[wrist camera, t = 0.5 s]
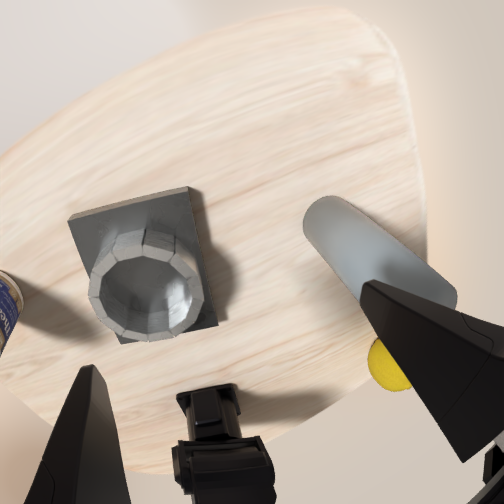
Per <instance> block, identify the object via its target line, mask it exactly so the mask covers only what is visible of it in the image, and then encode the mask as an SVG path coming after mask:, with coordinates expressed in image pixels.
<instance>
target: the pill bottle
mask: <svg viewBox="0 0 504 504" xmlns="http://www.w3.org/2000/svg"><path fill="white" fill-rule="evenodd" d="M23 306H24V302H23V297H22V294H21V291H20V289H19V287H18V286H17V284H16V283H15V282H14V281H13V280H12V279H11V278H10V277H9V276H8V275H6V274H5V273H3V272H1V271H0V357H1V354H2V352H3V350H4V347H5V345H6V343H7V341H8V339H9V337H10V335H11V333H12V331H13V329H14V327H15V325H16V323H17V321H18V319H19V317H20V315H21V313H22V310H23Z"/></svg>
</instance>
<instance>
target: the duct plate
mask: <svg viewBox="0 0 504 504" xmlns="http://www.w3.org/2000/svg"><path fill="white" fill-rule="evenodd" d="M67 222H68V224H69V227H70V230H71V233H72V236H73V238H74V241H75V244H76V246H77V249H78V252H79V254H80V257H81V259H82V262H83V264H84V267H85V269H86V272H87V274H88V276H89V279H90V283H89V291H88V296H89V297H88V298H89V301H90V303H91V305H92V307H93V309H94V311H95V313H96V315H97V317H98V319H100V321H101V322H102V323H103V324H105V325H106V326H107V327H109V328H110V329H112V330H113V331H114V332H115V334H116V336H117V338H118V340H119V342H120V344H126V343H132V342H138V341H144V342H147V341H149V342H153V341H159V340H164V339H169V338H174V336H175V337H176V336H177V335H179V334H181V333H186V332H191V331H196V330H200V329H205V328H210V327H215V326H219V325H218V320H217V316H216V312H215V308H214V304H213V299H212V295H211V291H210V287H209V283H208V279H207V274H206V270H205V266H204V262H203V257H202V253H201V248H200V244H199V239H198V235H197V230H196V225H195V221H194V216H193V211H192V207H191V202H190V197H189V192H188V187H187V186H186V187H181V188H177V189H172V190H167V191H163V192H159V193H154V194H150V195H146V196H142V197H137V198H133V199H129V200H125V201H121V202H118V203H114V204H110V205H106V206H102V207H99V208H95V209H91V210H88V211H84V212H81V213H77V214H74V215H72V216H71V217H70V218H69V220H68V221H67Z"/></svg>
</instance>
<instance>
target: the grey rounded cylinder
mask: <svg viewBox="0 0 504 504" xmlns="http://www.w3.org/2000/svg"><path fill="white" fill-rule="evenodd" d="M303 231H304V234H305V236H306V238H307V239H308V240H309V242H310V243H311V244H312V245H313V246H314V248H315V249H316V250H317V251H318V252H319V254H320V255H321V256H322V257H323V258H324V260H325V261H326V262H327V263H328V264H329V266H330V267H331V268H332V269H333V271H334V272H335V273H336V274H337V276H338V277H339V278H340V279H341V280H342V282H343V283H344V284H345V285H346V287H347V288H348V289H349V290H350V292H351V293H352V294H353V295H354V297H355V298H356V299H357V301H358V302H359V299H360V294H361V289H362V285H363V283H364V282H366V281H369V280H371V279H375V280H378V281H381V282H383V283H386V284H389V285H391V286H394V287H397V288H399V289H402V290H404V291H407V292H410V293H412V294H415V295H418V296H420V297H423V298H425V299H428V300H431V301H433V302H436V303H438V304H441V305H444V306H446V307H449V308H451V309H454V310H455V307H456V304H457V292H456V289H455V288H454V287H453V286H452V285H451V284H450V283H449V282H448V281H447V280H445V279H444V278H443V277H442V276H441V275H439V274H438V273H437V272H436V271H435V270H434V269H433V268H431V267H430V266H429V265H428V264H427V263H425V262H424V261H423V260H422V259H421V258H419V257H418V256H417V255H416V254H415V253H413V252H412V251H411V250H410V249H408V248H407V247H406V246H405V245H403V244H402V243H401V242H400V241H398V240H397V239H396V238H395V237H393V236H392V235H391V234H389V233H388V232H387V231H386V230H384V229H383V228H382V227H380V226H379V225H378V224H376V223H375V222H374V221H372V220H371V219H370V218H368V217H367V216H366V215H364V214H363V213H362V212H360V211H359V210H358V209H356V208H355V207H353V206H352V205H351V204H349V203H348V202H346V201H345V200H344V199H342V198H340V197H337V196H326V197H322V198H320V199H318V200H317V201H315V202H314V203H313V204H312V205H311V206H310V207H309V208H308V210H307V212H306V214H305V216H304V219H303ZM359 303H360V302H359Z"/></svg>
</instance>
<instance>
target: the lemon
mask: <svg viewBox="0 0 504 504" xmlns="http://www.w3.org/2000/svg"><path fill="white" fill-rule="evenodd" d="M368 367H369V371H370V373H371V375H372V377H373V378H374V379H375V380H376V381H377V383H378V384H379V385H381V386H382V387H383V388H384V389H386V390H389V391H393V392H397V391H402V390H405V389H410V388H411V387H412V385H411V383H410V382H409V381H408V379H407V378H406V376H405V375H404V373H403V372H402V370H401V369H400V368H399V366H398V365H397V363H396V362H395V360H394V359H393V358H392V356H391V355H390V353H389V352H388V350H387V349H386V348H385V346H384V345H383V343H382V342H381V340H380V339H377V340H376V341H375V343H374V345H373V346H372V347H371V349H370V351H369V354H368Z"/></svg>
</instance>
